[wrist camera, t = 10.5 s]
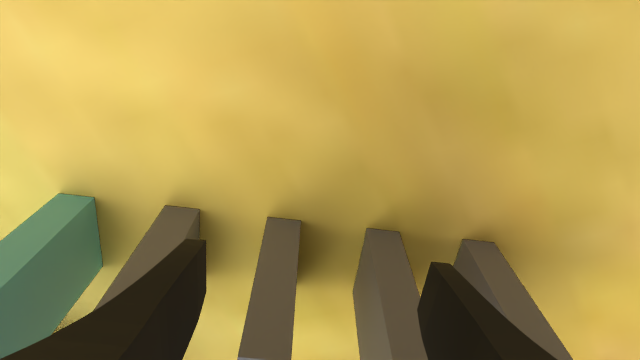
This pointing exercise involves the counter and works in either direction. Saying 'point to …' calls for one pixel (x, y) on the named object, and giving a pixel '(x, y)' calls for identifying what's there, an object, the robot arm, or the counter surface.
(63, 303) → the teal domino
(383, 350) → the domino
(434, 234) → the counter surface
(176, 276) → the robot arm
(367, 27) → the counter surface
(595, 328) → the counter surface
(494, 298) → the domino
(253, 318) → the domino
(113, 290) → the domino
